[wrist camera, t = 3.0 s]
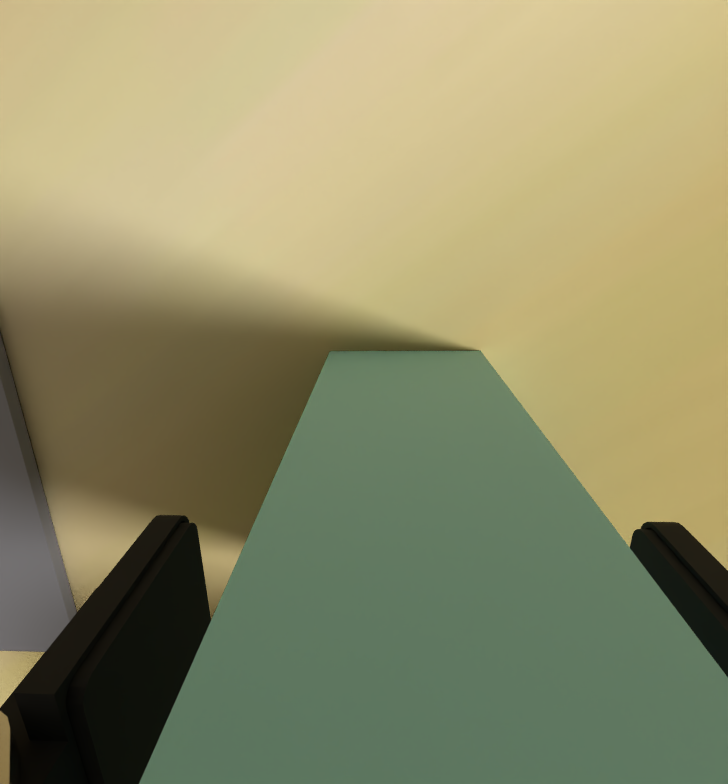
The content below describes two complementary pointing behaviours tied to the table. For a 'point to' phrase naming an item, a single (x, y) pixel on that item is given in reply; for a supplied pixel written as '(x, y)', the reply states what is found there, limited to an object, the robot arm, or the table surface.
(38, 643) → the rubber mat
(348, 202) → the table surface
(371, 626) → the teal block
